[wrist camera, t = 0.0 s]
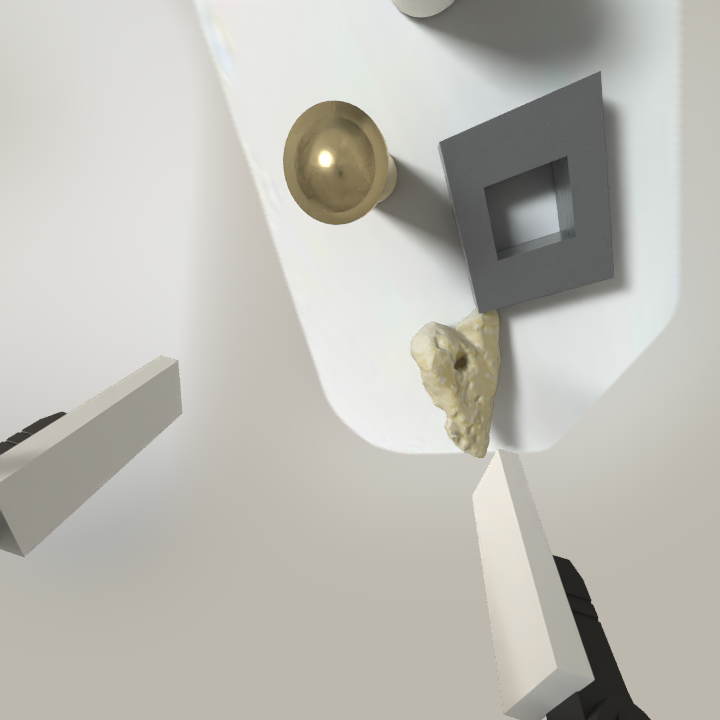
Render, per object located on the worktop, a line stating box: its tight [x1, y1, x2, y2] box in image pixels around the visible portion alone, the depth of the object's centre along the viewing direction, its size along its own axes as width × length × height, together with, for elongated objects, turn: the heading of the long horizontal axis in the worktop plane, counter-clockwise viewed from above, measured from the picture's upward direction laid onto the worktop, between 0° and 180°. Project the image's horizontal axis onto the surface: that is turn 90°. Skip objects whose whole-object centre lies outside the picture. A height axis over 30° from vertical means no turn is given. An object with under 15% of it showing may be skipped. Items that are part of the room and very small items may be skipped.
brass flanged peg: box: [283, 101, 397, 225], centre depth 27 cm, size 6×6×16 cm
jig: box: [438, 71, 614, 314], centre depth 31 cm, size 16×12×4 cm
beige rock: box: [411, 307, 501, 458], centre depth 39 cm, size 15×7×15 cm
